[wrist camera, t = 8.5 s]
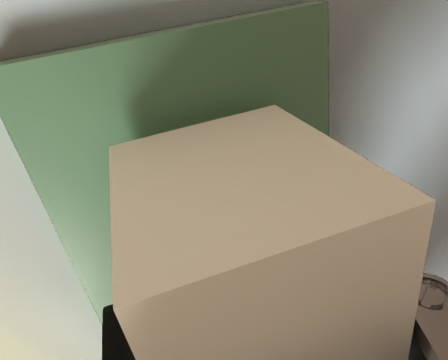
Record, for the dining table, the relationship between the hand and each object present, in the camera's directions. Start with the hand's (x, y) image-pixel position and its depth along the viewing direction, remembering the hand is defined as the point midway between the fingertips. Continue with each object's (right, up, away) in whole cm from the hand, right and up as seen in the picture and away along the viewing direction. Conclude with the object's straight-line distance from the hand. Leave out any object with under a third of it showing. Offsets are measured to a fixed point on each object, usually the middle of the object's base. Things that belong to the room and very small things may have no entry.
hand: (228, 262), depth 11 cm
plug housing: (0, 0, +1) cm, 1 cm away
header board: (-1, +1, +3) cm, 3 cm away
